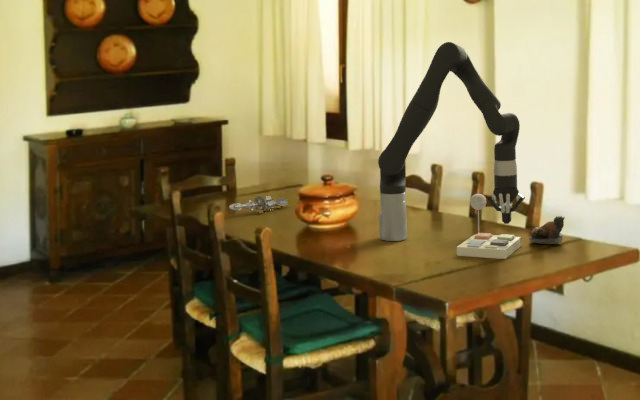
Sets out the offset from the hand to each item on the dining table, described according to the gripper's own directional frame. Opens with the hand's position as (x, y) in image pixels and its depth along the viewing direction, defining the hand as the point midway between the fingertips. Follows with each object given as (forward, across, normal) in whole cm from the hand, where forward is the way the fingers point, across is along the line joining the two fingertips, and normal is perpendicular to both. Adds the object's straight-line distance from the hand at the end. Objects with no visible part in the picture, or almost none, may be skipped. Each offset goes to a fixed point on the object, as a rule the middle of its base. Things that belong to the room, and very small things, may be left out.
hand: (506, 223), depth 305 cm
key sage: (+7, 0, 0) cm, 7 cm away
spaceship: (+7, +117, -32) cm, 121 cm away
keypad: (+8, +4, +6) cm, 11 cm away
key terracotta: (+7, +8, 0) cm, 11 cm away
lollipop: (+8, +15, -17) cm, 24 cm away
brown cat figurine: (+9, -12, -8) cm, 17 cm away
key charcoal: (+7, 0, +8) cm, 11 cm away
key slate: (+8, +8, +8) cm, 14 cm away
